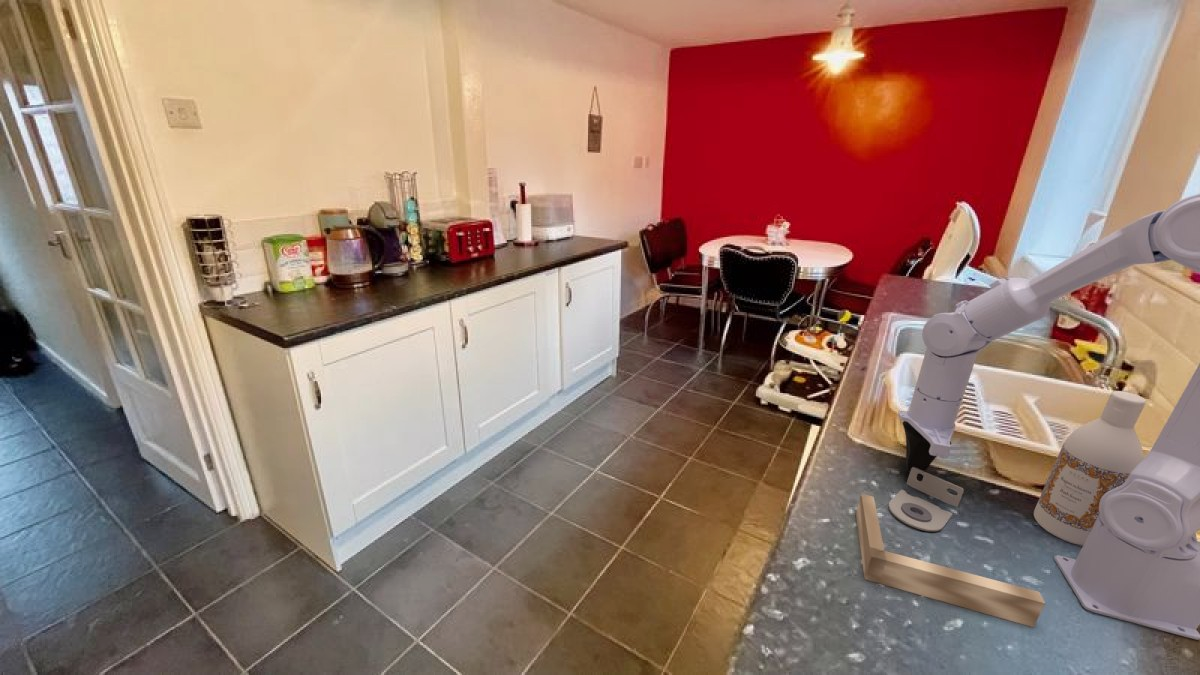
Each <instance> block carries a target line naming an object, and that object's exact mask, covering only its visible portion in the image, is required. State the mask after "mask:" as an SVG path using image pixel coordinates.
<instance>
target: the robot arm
mask: <svg viewBox="0 0 1200 675" xmlns="http://www.w3.org/2000/svg"><path fill="white" fill-rule="evenodd" d="M1167 261H1172V262H1175V263H1177V264H1178V265H1181V266H1183V267H1185V268H1187V269H1189V270H1191V271H1193V272H1195V273H1198V274H1199V275H1200V193H1197V194H1193V195H1190V196H1188V197H1185V198H1182V199H1180V200H1178V201H1176V202H1175V203H1174V204H1172V205H1170V206H1169V207H1167V208H1166V209H1165V210H1157V211H1155V212H1152V213H1150V214H1148V215H1144V216H1142V217H1140V218H1138V219H1137V220H1135V221H1132V222H1130V223H1129V224H1127V225H1125V226H1123V227H1121V228H1119V229H1117V230H1115V231H1114V232H1112V233H1110V234H1108V235H1107V236H1105V237H1103V238H1101V239H1100V240H1098V241H1096V242H1094V243H1093V244H1091V245H1090V246H1087V247H1086V248H1084V249H1083V250H1080V251H1078V252H1077V253H1075V254H1074V255H1072V256H1071V257H1069V258H1067V259H1065V260H1063V261H1061V262H1060V263H1058V264H1056V265H1055V266H1053V267H1051V268H1049V269H1048V270H1046V271H1044V272H1042V273H1041V274H1038V275H1037V276H1035V277H1033V278H1032V279H1029V278H1024V277H1011V278H1009V279H1006V278H1000V279H999V278H998V279H997V280H995V281H993V282H990V284H989V285H988V286H989V287H990V289H988V290H987V291H985V292H984V293H982V294H979V295H977V296H976V297H974V298H973V299H971V300H969V301H968V300H966V299H965V300H962V301H959V302H957V303H956V304H955V307H956V309H954V311H953V312H940V313H936V314H934V315H933V316H932V317H931V318H930V319H929V320H928V321H926V322H925V323H924V326H923V328H922V333H921V335H922V341H923V343H924V345H925V347H926V348H925V349H926V350H925V353H924V356H923V359H922V363H921V366H920V370H919V373H918V376H917V380H916V384H915V387H914V389H913V390H914V391H913V394H912V397H911V400H910V404H909V407H908V409H907V410H898V413H897V416H898V419H899V420H900V421H902V426H903V429H904V430H903V431H904V434H905V444H906V447H905V449H906V450H905V466H906V469H907V471H908V473H910V471H911V468H912V467H915V468H917V469H920V470H922V471H924V472H926V471H927V470H928V468H929V467H930V465H931V464H932V463H933V462H934V461H935V459H936V458H937V457H939V458H944V459H948V457H949V454H950V451H951V448H952V441H951V440H952V437H953V434H954V432H955V429H956V420H957V417H958V414H959V412H960V409H961V406H962V402H963V399H964V396H965V393H966V390H967V387H968V384H969V381H970V379H971V376H972V372H973V369H974V364H975V362H976V359H977V356H978V353H979V352H980V351H981V350H983V349H985V348H987V347H988V346H990V344H991V343H992V342H993V341H995V340H998V339H1000V338H1001V337H1004V336H1006V335H1008V334H1011V333H1013V332H1015V331H1018V330H1019V329H1021V328H1024V327H1026V326H1028V325H1030V324H1032V323H1033V324H1034V322H1037V321H1040V320H1042V319H1043V318H1045V317H1047V315H1048V314H1049V311H1050V308H1051V306H1052V303H1053V301H1055V300H1058V299H1060V298H1061V297H1064V296H1066V295H1068V294H1071V293H1074V292H1075V291H1078V290H1080V289H1082V288H1085V287H1087V286H1088V285H1092V284H1093V283H1096V282H1098V281H1100V280H1102V279H1105V278H1107V277H1109V276H1112V275H1113V274H1116V273H1118V272H1120V271H1123V270H1125V269H1127V268H1130V267H1132V266H1134V265H1148V264H1157V263H1161V262H1167ZM1099 512H1100V514H1099V515H1098V517H1097V519H1096V521H1095V523H1094V525H1093V527H1092V529H1091V531H1090V533H1089V535H1088V537H1087V539H1086V541H1085V543H1084V545H1082V547H1081V549H1080V551H1079V553H1078V556H1077V557H1076V559H1075V558H1070V557H1068V556H1062V555H1058V554H1057V555H1054V558H1053V559H1054V561H1055V562H1056V564H1057V566H1058V568H1059V569H1060V571H1061V573H1062V574H1063V576H1064V577H1065V579H1066V580H1067V582H1068V584H1069V586H1070V588H1071V589H1072V590H1073V592H1074V594H1075V595H1076V597H1077V599H1078V601H1079V602H1080V603H1081V606H1082V607H1083V608H1084V609H1085V610H1086V611H1088V612H1092V613H1094V614H1095V613H1096V614H1099V615H1103V616H1107V617H1111V618H1115V619H1118V620H1121V621H1126V622H1129V623H1133V624H1136V625H1140V626H1143V627H1148V628H1152V629H1155V630H1159V631H1162V632H1167V633H1171V634H1173V635H1177V636H1182V637H1185V638H1188V639H1189V638H1190V639H1192V640H1197V641H1198V640H1200V632H1199V631H1198V630H1197V629H1198V628H1199V626H1200V541H1198V537H1197V532H1198V531H1200V363H1198V365H1197V368H1196V369H1195V370H1194V372H1193V374H1192V376H1191V378H1190V380H1189V382H1188V383H1187V385H1186V386H1185V388H1184V390H1183V392H1182V394H1181V395H1180V398H1179V400H1178V401H1177V403H1176V405H1175V406H1174V408H1173V410H1172V412H1171V414H1170V415H1169V417H1168V419H1167V421H1166V423H1164V426H1163V427H1162V430H1161V431H1160V433H1159V435H1158V436H1157V439H1156V440H1155V442H1154V443H1153V445H1152V447H1151V449H1150V450H1149V451H1148V453H1147V454H1146V455H1145V456H1143V460H1142V461H1141V462H1140V463H1139V464H1138V465H1137V466H1136V467H1135V468H1134V469H1133V471H1132V472H1131V473H1130V475H1129V477H1128V478H1127V480H1126V481H1125V483H1123V484H1122V485H1121V486H1119V487H1116V488H1114V489H1112V490H1110V491H1108V492H1107V493H1105V494H1104V495H1103V496H1102V498H1101V500H1100V503H1099Z"/></svg>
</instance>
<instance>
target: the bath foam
mask: <svg viewBox="0 0 1200 675" xmlns="http://www.w3.org/2000/svg"><path fill="white" fill-rule="evenodd" d="M1146 404H1147V400H1146V399H1145V398H1144V397H1143V396H1140V395H1138V394H1135V393H1131V392H1128V391H1124V390H1115V391H1112V392H1111V393H1110V395H1109V397H1108V399H1107V401H1106V403H1105V406H1104V407H1103V410H1102V413H1101V414H1100V416H1099V417H1098V418H1096V419H1093V420H1090V421H1089V422H1087V423H1084V424H1082V425H1081V426H1079V427H1077V428H1075V429H1074V430H1073V431H1072V432H1071V433H1070V434H1069V435H1068V436H1067V438H1066V439H1065V440H1064V442H1063V443H1062V446H1061V449H1060V451H1059V453H1058V456H1057V458H1056V460H1055V461H1054V464H1053V466H1052V469H1051V471H1050V474H1049V476H1048V478H1047V481H1046V482H1045V484H1044V487H1043V489H1042V492H1041V494H1040V495H1039V496H1040V497H1039V499H1038V501H1037V503H1036V506H1035V507H1034V508H1035V509H1034V511H1033V517H1034V520H1035V521H1036V522H1037V524H1038V525H1039V526H1040V527H1042V528H1043V529H1044V530H1045V531H1046V532H1048V533H1049V534H1051V535H1052V536H1054V537H1057V538H1059V539H1061V540H1063V541H1065V542H1068V543H1070V544H1074V545H1078V546H1083V545H1084V543H1085V541H1086V539H1087V537H1088V535H1089V533H1090V531H1091V529H1092V527H1093V525H1094V523H1095V521H1096V519H1097V517H1098V515H1099V514H1100V512H1099V503H1100V500H1101V498H1102V496H1103V495H1104V494H1105V493H1107V492H1108V491H1110V490H1112V489H1114V488H1116V487H1119V486H1121V485H1122V484H1123V483H1125V481H1126V480H1127V478H1128V477H1129V475H1130V473H1131V472H1132V471H1133V469H1134V468H1135V467H1136V466H1137V465H1138V464H1139V463H1140V462H1141V461H1142V460H1143V458H1144V451H1143V447H1142V446H1143V445H1142V443H1141V441H1140V439H1139V436H1138V434H1137V431H1136V430H1135V426H1136V423H1138V419H1139V418H1140V416H1141V414H1142V412H1143V410H1144V408H1145V406H1146Z"/></svg>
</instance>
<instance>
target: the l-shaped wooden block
mask: <svg viewBox="0 0 1200 675" xmlns="http://www.w3.org/2000/svg"><path fill="white" fill-rule="evenodd" d="M855 517H856V518H855V519H856V520H855V521H856V525H857V533H858V542H859V548H860V554H861V562H862V563H861V564H862V569H863V577H864V580H867V581H869V582H874V583H877V584H881V585H884V586H888V587H891V588H895V589H898V590H901V591H905V592H908V593H912V594H916V595H920V596H922V597H927V598H929V599H932V600H935V601H936V600H937V601H939V602H944V603H947V604H950V605H954V606H957V607H960V608H965V609H967V610H971V611H974V612H978V613H982V614H985V615H988V616H993V617H995V618H1000V619H1003V620H1006V621H1010V622H1013V623H1016V624H1021V625H1022V626H1023V625H1024V626H1028V627H1031V628H1035V625H1036V623H1037V621H1038V619H1039V618H1040V615H1041V612H1042V611H1043V610H1044V607H1045V606H1046V601H1045V600H1044V598H1043V597H1042V595H1041V593H1040V591H1038V590H1034V589H1029V588H1026V587H1023V586H1018V585H1016V584H1015V585H1014V584H1012V583H1011V584H1010V583H1008V582H1004V581H999V580H996V579H993V578H989V577H984V576H981V575H977V574H973V573H970V572H965V571H962V570H957V569H954V568H951V567H947V566H943V565H939V564H936V563H932V562H929V561H925V560H920V559H916V558H913V557H909V556H906V555H903V554H902V555H901V554H898V553H894V552H889V551H886V550H885V549H884V548H885V547H884V542H883V541H884V540H883V536H882V533H881V528H880V521H879V518H878V517H879V516H878V510H877V506H876V501H875V497H874V496H873V495H868V494H863V493H861V494H860V497H859V500H858V504H857V509H856V512H855Z"/></svg>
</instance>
